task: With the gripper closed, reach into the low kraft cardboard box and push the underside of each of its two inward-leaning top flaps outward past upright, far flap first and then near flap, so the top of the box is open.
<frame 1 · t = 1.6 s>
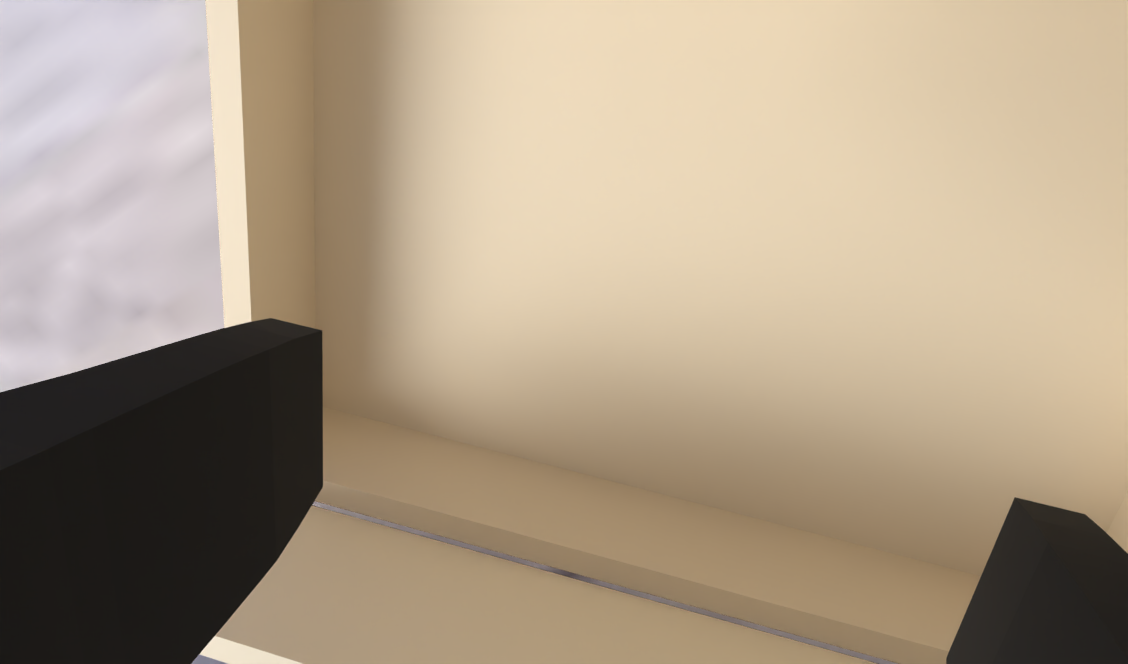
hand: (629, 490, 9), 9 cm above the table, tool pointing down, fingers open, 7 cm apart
carton: (726, 212, 17), on the table
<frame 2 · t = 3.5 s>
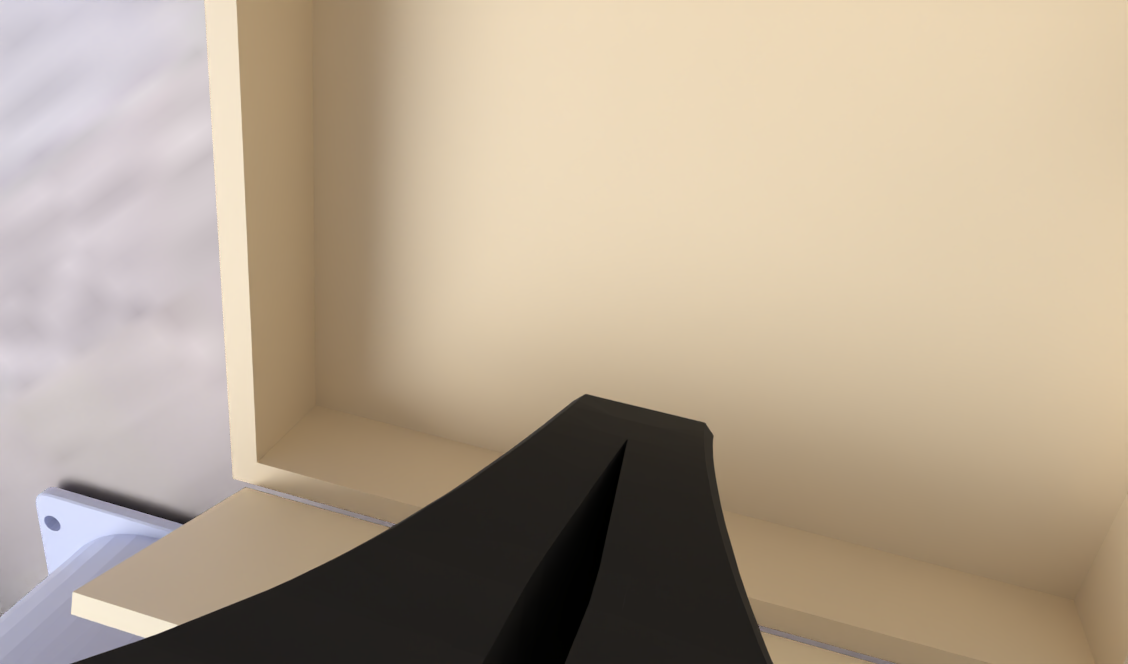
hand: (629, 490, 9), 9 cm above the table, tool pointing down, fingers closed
carton: (726, 211, 17), on the table
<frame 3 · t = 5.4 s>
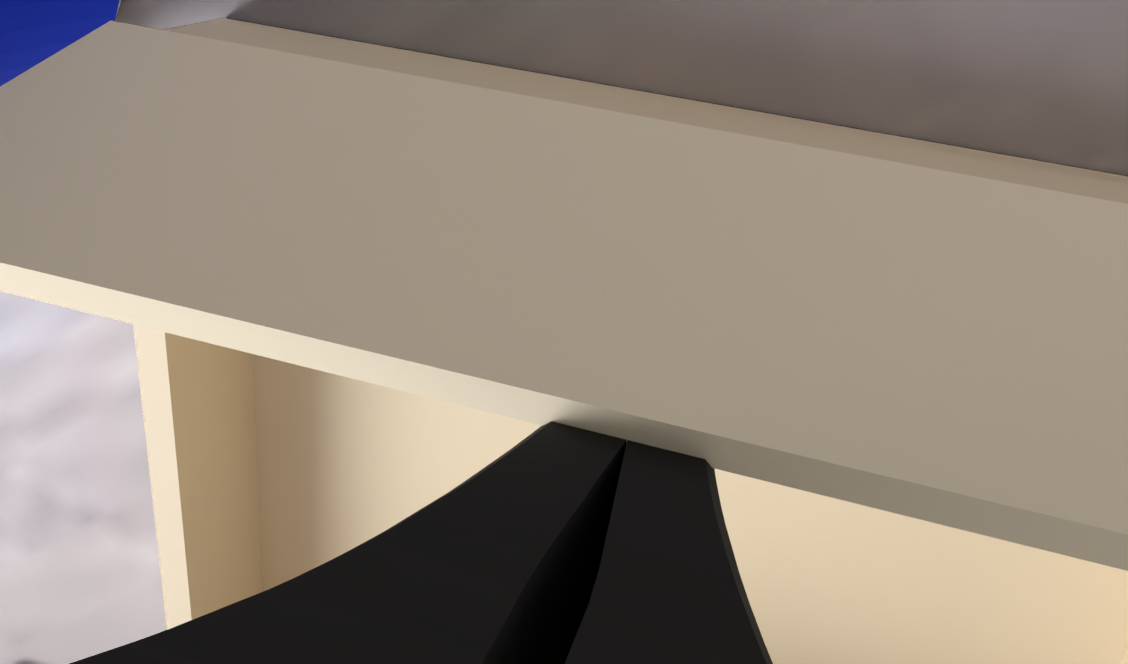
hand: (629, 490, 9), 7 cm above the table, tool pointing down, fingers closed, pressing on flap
carton: (664, 474, 17), on the table
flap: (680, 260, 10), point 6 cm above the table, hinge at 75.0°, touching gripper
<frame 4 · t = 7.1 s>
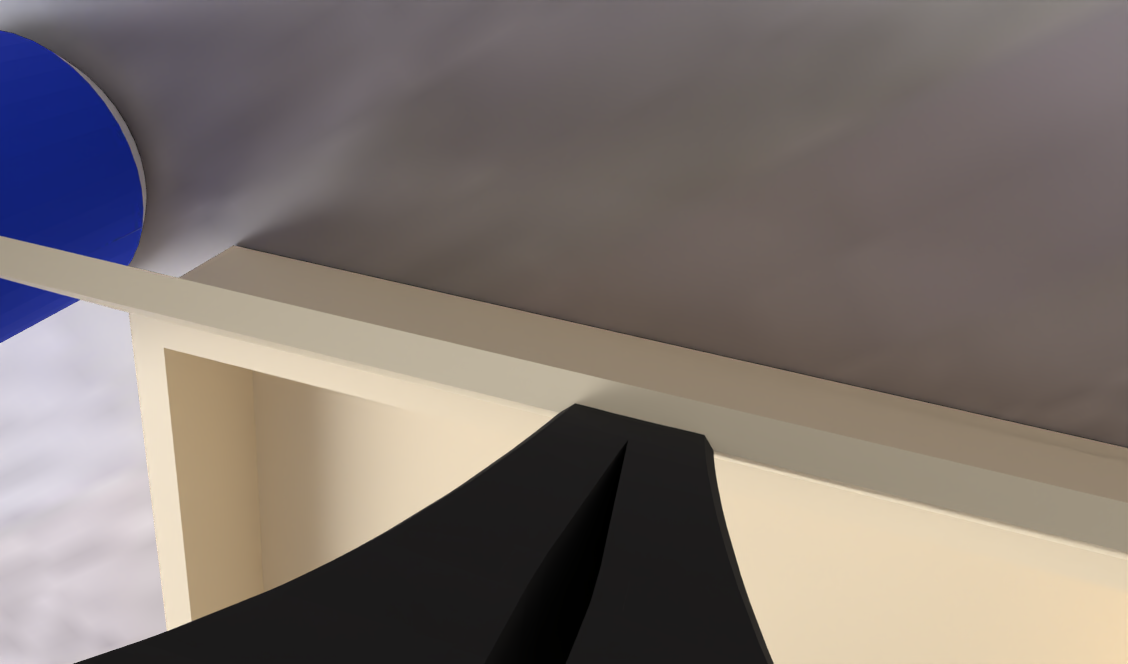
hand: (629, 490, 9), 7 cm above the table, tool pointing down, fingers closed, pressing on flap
carton: (633, 639, 19), on the table
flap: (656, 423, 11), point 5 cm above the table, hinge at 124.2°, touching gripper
beverage can: (57, 158, 18), on the table
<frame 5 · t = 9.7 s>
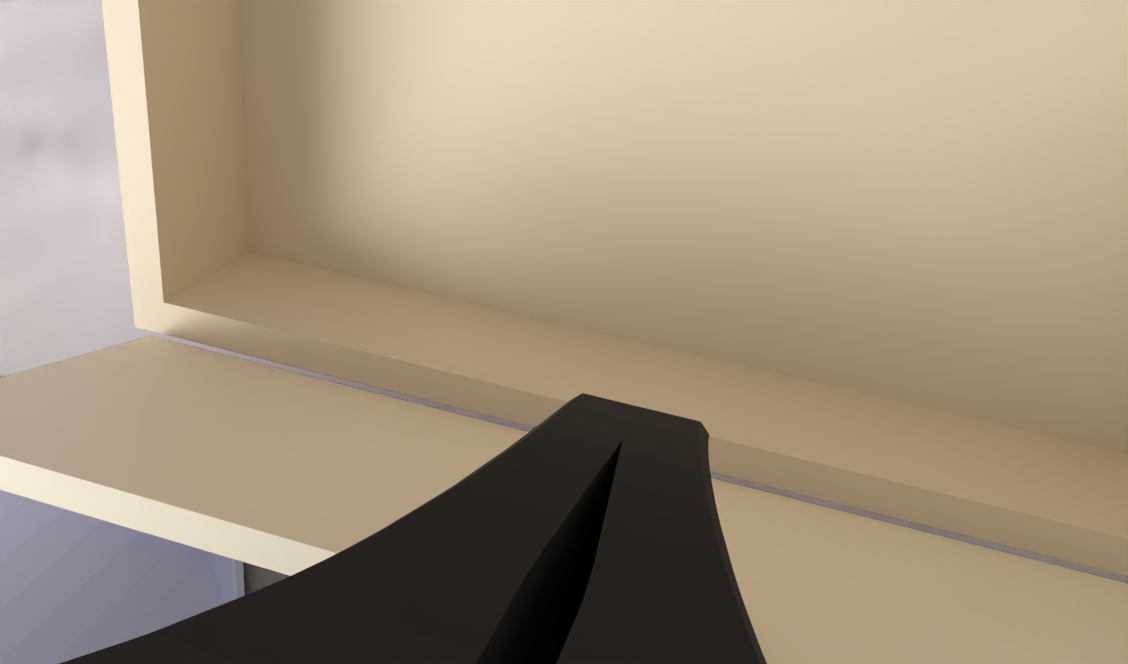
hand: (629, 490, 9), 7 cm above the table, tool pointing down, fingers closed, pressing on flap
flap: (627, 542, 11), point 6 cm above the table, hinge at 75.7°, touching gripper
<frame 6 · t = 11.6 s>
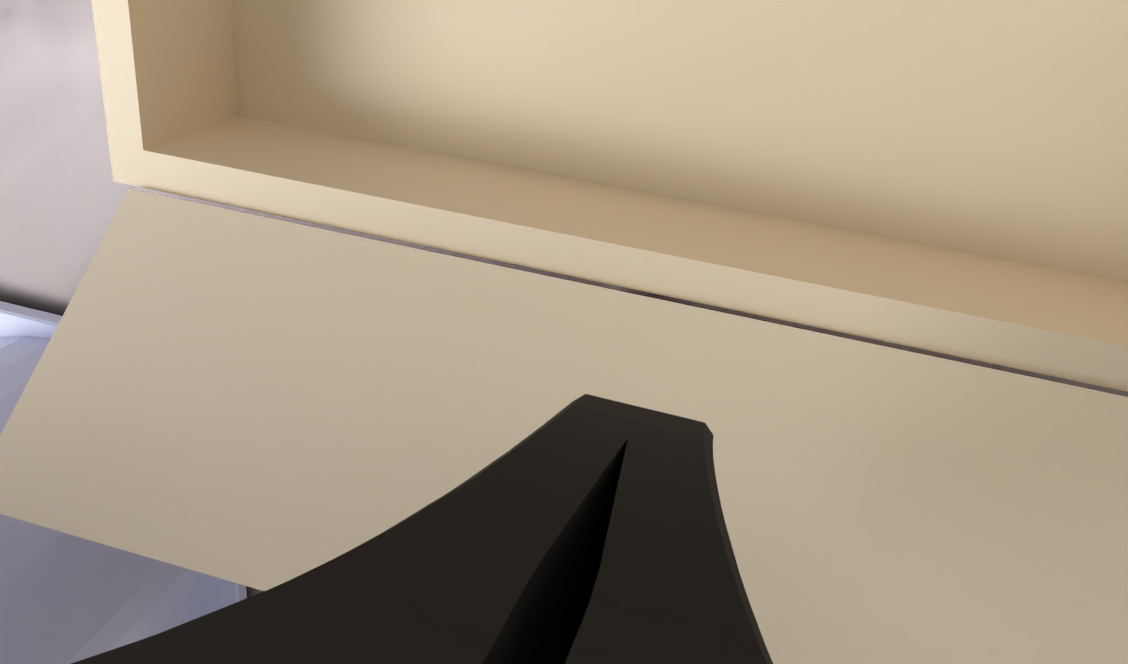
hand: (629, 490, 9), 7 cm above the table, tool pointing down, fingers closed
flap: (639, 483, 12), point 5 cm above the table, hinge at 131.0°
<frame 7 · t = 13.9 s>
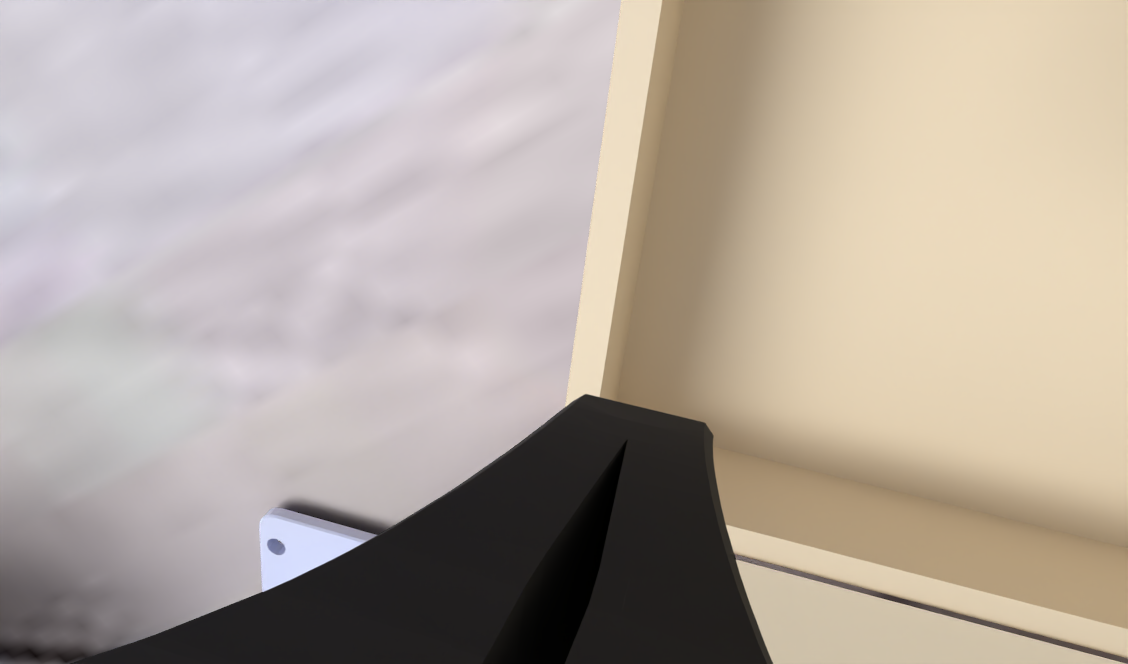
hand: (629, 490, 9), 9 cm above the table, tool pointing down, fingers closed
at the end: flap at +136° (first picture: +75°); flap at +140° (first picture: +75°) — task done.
